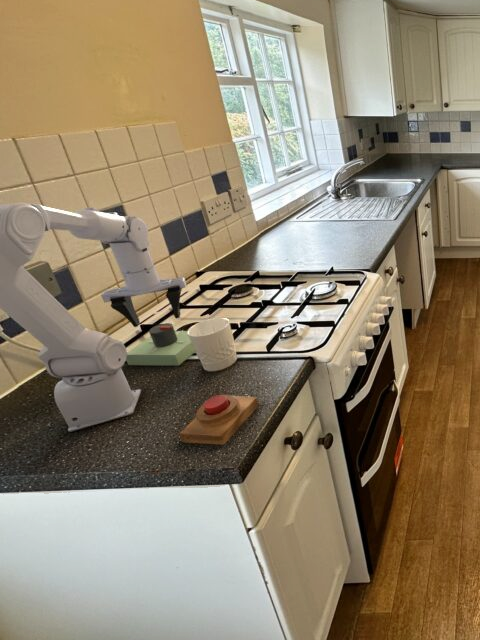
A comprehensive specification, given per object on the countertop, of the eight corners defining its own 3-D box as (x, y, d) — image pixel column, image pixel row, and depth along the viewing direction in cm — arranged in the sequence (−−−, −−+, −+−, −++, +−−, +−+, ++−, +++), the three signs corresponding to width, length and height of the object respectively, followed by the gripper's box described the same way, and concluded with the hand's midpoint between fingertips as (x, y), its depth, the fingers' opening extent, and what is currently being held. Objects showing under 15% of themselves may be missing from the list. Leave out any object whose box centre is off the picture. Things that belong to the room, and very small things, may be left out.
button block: (224, 445, 75) (218, 428, 73) (182, 442, 75) (175, 425, 74) (259, 405, 84) (254, 389, 82) (222, 403, 84) (216, 388, 83)
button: (220, 416, 76) (217, 408, 76) (201, 415, 77) (198, 407, 76) (233, 402, 80) (231, 395, 79) (215, 401, 80) (213, 394, 79)
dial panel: (128, 365, 96) (123, 353, 95) (162, 340, 105) (158, 330, 104) (178, 365, 96) (174, 354, 95) (208, 341, 105) (205, 330, 104)
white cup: (208, 378, 92) (194, 340, 88) (195, 364, 96) (181, 328, 92) (246, 360, 97) (235, 324, 94) (232, 348, 102) (221, 313, 98)
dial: (149, 347, 97) (143, 332, 96) (164, 336, 101) (158, 321, 100) (168, 347, 97) (162, 332, 96) (182, 337, 101) (176, 322, 100)
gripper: (180, 255, 98) (197, 305, 103) (99, 268, 92) (122, 320, 97) (175, 266, 93) (193, 318, 98) (89, 280, 86) (114, 335, 91)
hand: (157, 320), depth 97 cm, fingers open, 7 cm apart
